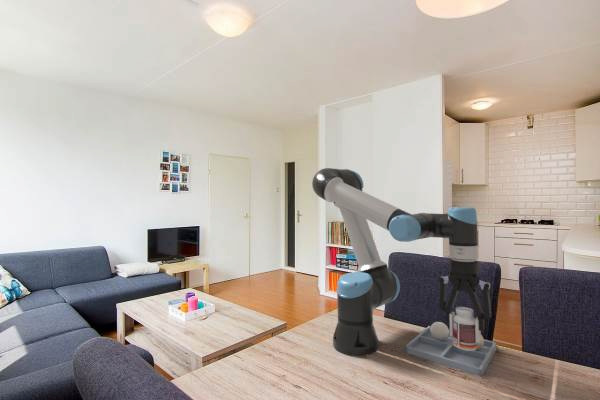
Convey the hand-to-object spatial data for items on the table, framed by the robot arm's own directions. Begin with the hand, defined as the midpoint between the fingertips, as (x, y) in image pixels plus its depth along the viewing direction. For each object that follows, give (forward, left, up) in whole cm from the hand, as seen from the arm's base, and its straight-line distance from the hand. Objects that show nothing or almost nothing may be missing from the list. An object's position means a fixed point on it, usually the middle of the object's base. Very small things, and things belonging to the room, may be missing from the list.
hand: (465, 337), depth 93 cm
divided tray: (-5, +5, -8) cm, 11 cm away
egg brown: (0, +10, -7) cm, 13 cm away
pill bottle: (0, 0, -3) cm, 3 cm away
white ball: (-10, +10, -7) cm, 16 cm away
